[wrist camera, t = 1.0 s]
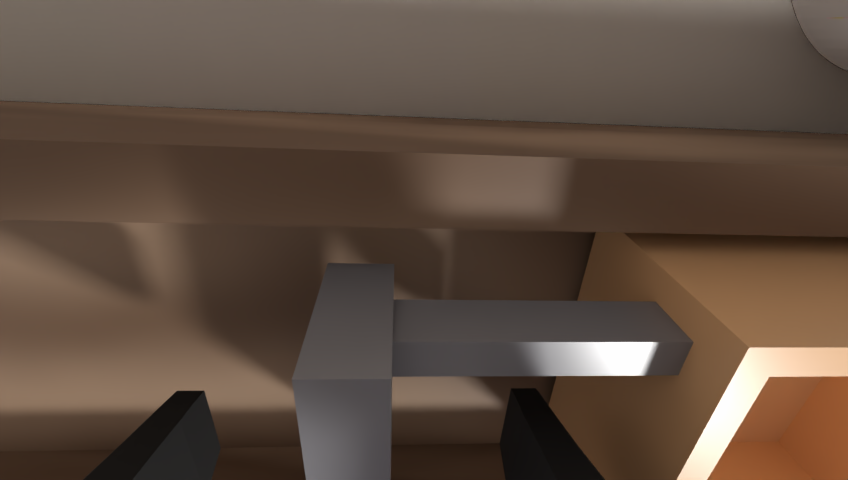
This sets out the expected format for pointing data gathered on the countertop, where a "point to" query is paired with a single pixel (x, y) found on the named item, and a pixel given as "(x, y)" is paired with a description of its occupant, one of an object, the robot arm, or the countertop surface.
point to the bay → (324, 257)
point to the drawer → (610, 358)
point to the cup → (825, 27)
